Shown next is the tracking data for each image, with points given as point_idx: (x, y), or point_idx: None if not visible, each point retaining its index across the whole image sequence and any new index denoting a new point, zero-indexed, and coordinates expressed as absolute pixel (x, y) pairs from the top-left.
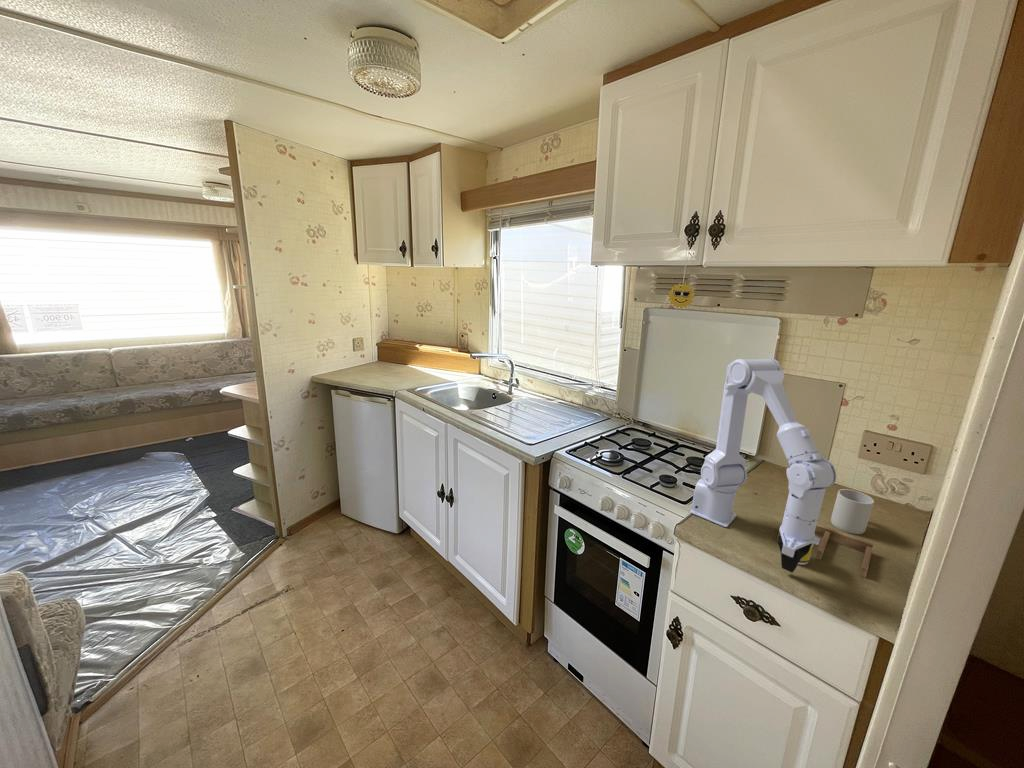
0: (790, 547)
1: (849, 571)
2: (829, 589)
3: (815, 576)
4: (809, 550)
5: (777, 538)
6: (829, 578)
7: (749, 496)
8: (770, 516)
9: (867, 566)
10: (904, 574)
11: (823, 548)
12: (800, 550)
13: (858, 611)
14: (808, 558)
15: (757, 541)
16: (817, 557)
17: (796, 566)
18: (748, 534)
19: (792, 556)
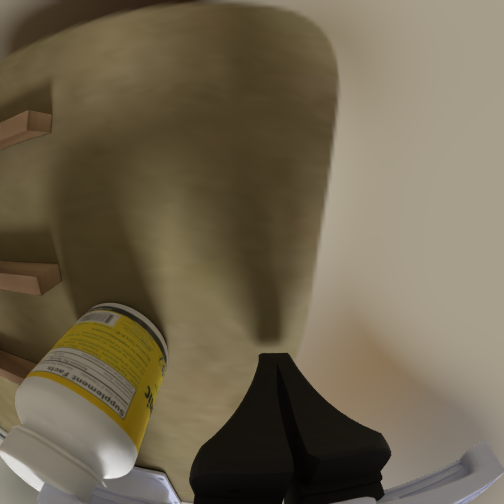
0: (491, 483)
1: (48, 165)
2: (244, 201)
3: (186, 265)
4: (106, 352)
5: None
6: (151, 215)
7: (5, 414)
8: (14, 389)
9: (10, 120)
10: None
11: (15, 277)
12: (383, 465)
13: (319, 91)
14: (117, 320)
15: (146, 427)
16: (57, 278)
17: (300, 372)
18: None
19: (486, 444)
